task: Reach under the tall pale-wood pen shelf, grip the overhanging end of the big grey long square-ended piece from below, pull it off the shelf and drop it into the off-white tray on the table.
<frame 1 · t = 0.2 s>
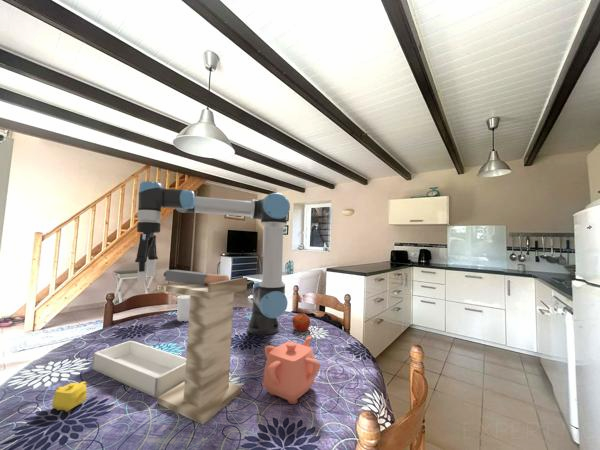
hand: (146, 278, 90), 28 cm above the table, tool pointing down, fingers open, 13 cm apart
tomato: (301, 330, 119), on the table
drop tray: (140, 372, 76), on the table
marker shelf: (195, 395, 66), on the table
grey long square-ended piece: (195, 283, 70), point 30 cm above the table, touching marker shelf
toy block: (72, 405, 61), on the table
candle holder: (185, 319, 129), on the table
teapot: (291, 390, 70), on the table
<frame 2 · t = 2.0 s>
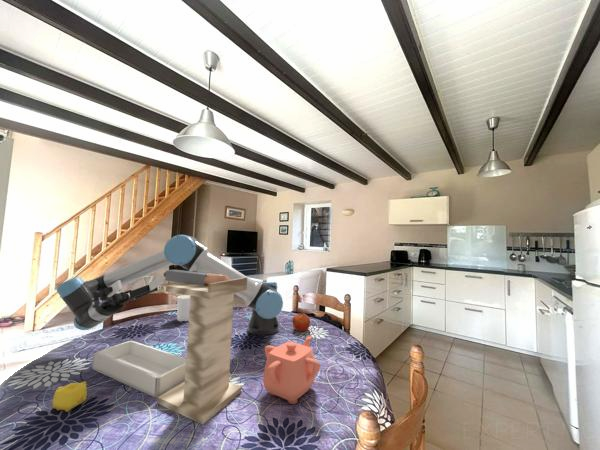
hand: (142, 281, 80), 28 cm above the table, tool pointing upward, fingers open, 13 cm apart
nothing on the table moved.
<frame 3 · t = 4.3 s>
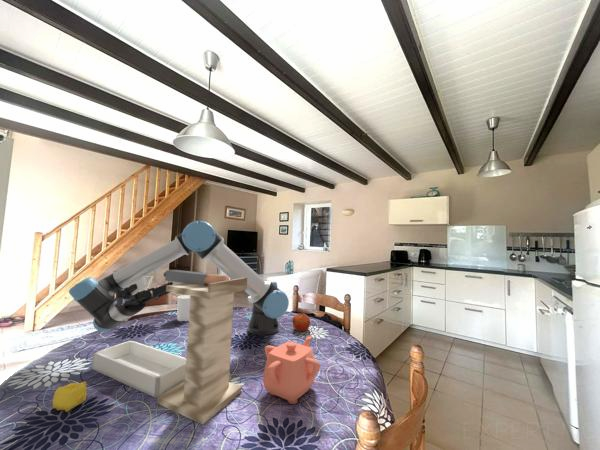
hand: (167, 278, 74), 31 cm above the table, tool pointing upward, fingers open, 13 cm apart
nothing on the table moved.
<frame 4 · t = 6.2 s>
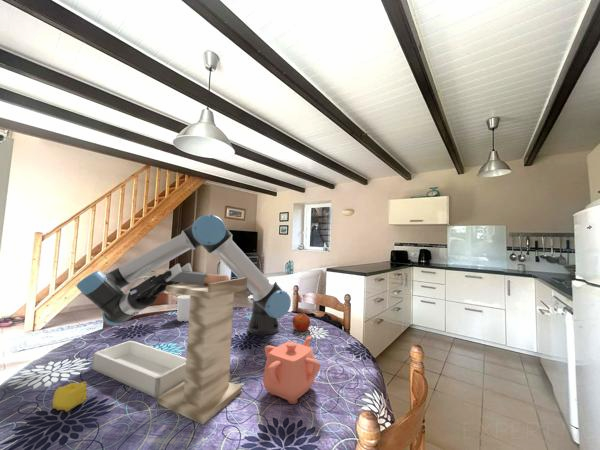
hand: (184, 267, 72), 34 cm above the table, tool pointing upward, fingers closed on grey long square-ended piece, 3 cm apart
grey long square-ended piece: (195, 283, 70), point 30 cm above the table, touching gripper, marker shelf
everything else where it was.
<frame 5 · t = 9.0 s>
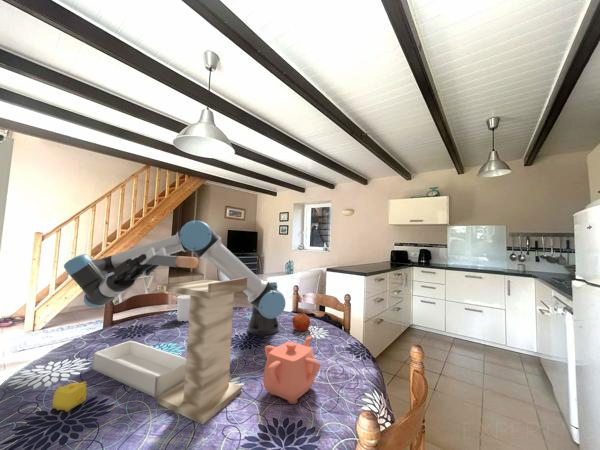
hand: (159, 251, 77), 39 cm above the table, tool pointing upward, fingers closed on grey long square-ended piece, 3 cm apart
grey long square-ended piece: (168, 265, 75), point 34 cm above the table, touching gripper
everything else where it was.
when the fingers open (27 cm above the table, at t = 11.8 s): grey long square-ended piece drops 22 cm, resting on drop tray.
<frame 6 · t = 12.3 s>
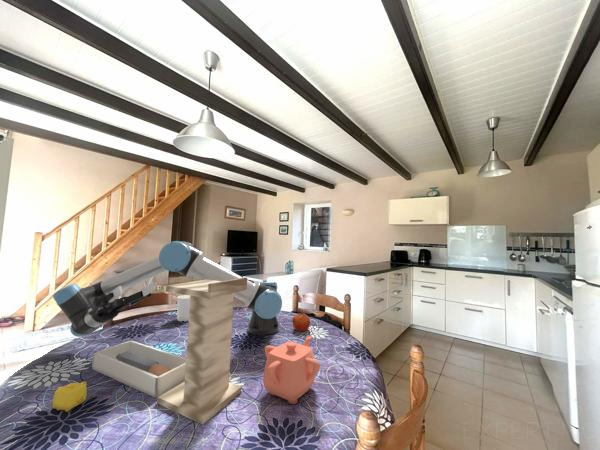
hand: (138, 287, 80), 26 cm above the table, tool pointing upward, fingers open, 10 cm apart
grey long square-ended piece: (142, 370, 76), point 1 cm above the table, touching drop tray
everything else where it was.
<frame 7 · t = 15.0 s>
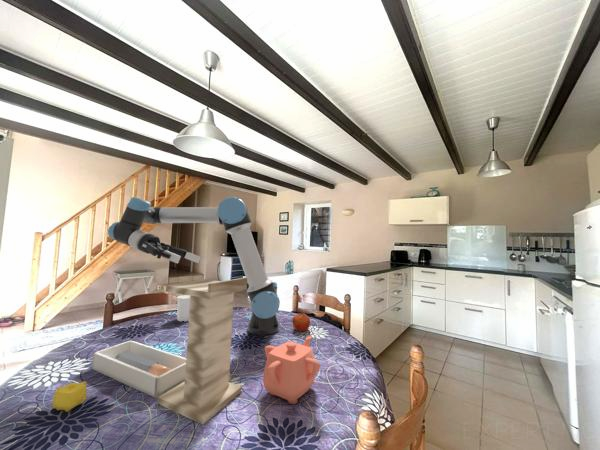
hand: (190, 260, 93), 35 cm above the table, tool tilted 75°, fingers open, 13 cm apart
nothing on the table moved.
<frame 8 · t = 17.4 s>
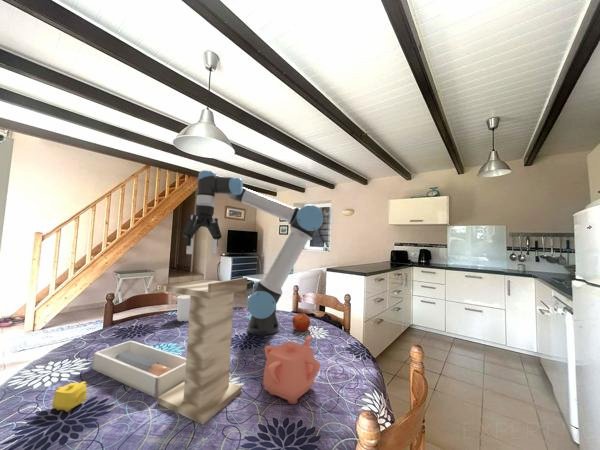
hand: (202, 253, 106), 37 cm above the table, tool pointing down, fingers open, 13 cm apart
nothing on the table moved.
at the end: grey long square-ended piece inside the target area on the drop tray (0.8 cm from its centre), point 0.8 cm above the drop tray's base; grey long square-ended piece touching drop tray; the gripper is holding nothing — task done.
